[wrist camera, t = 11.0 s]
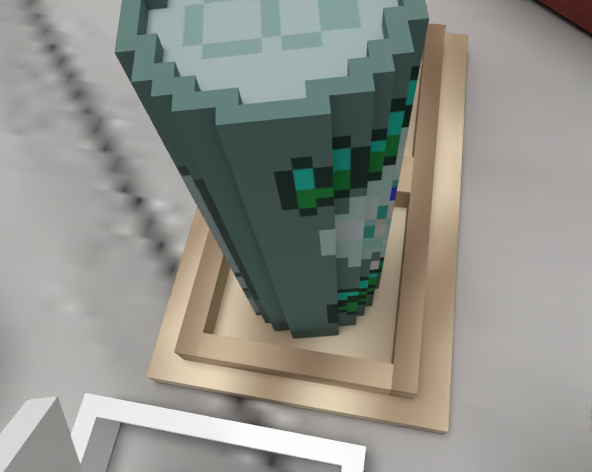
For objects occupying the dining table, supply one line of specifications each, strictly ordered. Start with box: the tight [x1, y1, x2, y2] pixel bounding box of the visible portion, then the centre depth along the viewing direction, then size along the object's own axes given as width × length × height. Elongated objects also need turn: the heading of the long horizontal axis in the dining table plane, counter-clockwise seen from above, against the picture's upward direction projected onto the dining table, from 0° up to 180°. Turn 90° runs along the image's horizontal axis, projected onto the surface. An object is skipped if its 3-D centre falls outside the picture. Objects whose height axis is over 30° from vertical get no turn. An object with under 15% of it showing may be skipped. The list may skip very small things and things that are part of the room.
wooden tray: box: [146, 24, 468, 434], centre depth 25 cm, size 13×22×3 cm, turn 170°
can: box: [115, 0, 429, 339], centre depth 17 cm, size 6×6×15 cm
